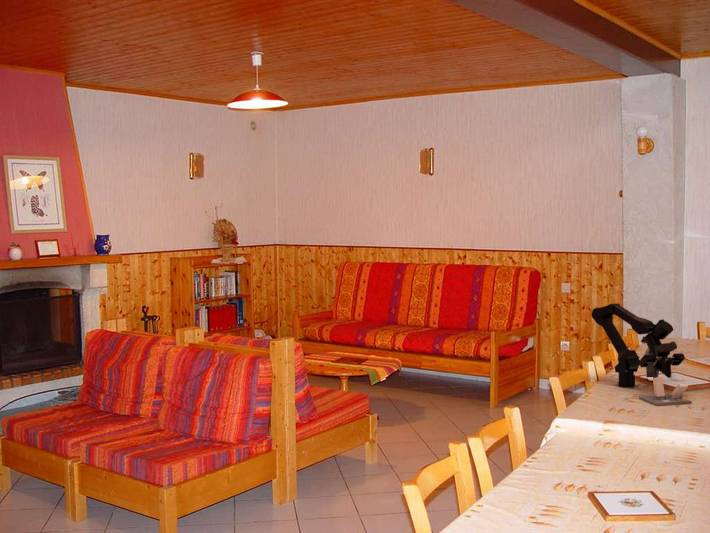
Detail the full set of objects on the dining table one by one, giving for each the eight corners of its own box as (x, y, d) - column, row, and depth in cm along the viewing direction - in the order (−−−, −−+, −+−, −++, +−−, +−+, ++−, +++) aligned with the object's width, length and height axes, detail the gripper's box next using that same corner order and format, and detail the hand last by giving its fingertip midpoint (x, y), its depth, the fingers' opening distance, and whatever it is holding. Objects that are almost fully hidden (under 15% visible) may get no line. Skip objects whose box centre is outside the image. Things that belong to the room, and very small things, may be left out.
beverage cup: (658, 379, 378) (659, 336, 377) (662, 382, 371) (663, 338, 369) (642, 379, 379) (643, 335, 377) (646, 382, 372) (647, 338, 370)
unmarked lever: (654, 398, 335) (652, 377, 337) (663, 397, 336) (660, 377, 337) (656, 398, 334) (654, 377, 335) (665, 397, 335) (662, 377, 336)
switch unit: (639, 399, 340) (639, 392, 339) (673, 396, 343) (673, 389, 343) (656, 406, 328) (656, 398, 328) (691, 403, 332) (691, 396, 332)
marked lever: (669, 395, 337) (678, 383, 331) (677, 394, 338) (686, 383, 332) (670, 398, 336) (680, 386, 330) (679, 397, 337) (688, 386, 331)
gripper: (643, 335, 341) (658, 367, 331) (683, 334, 345) (699, 365, 335) (632, 351, 349) (646, 382, 339) (671, 349, 354) (686, 380, 344)
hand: (670, 377), depth 339 cm, fingers closed
